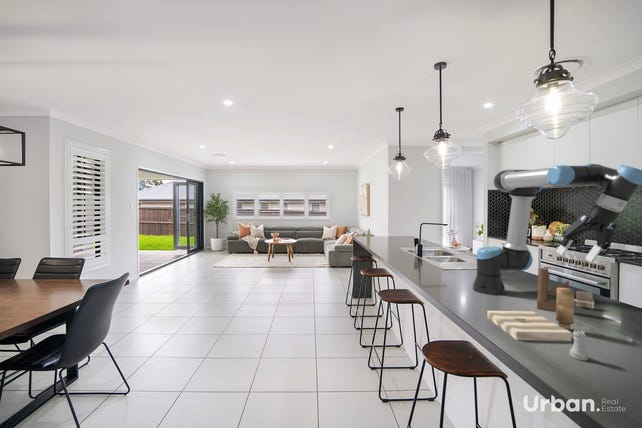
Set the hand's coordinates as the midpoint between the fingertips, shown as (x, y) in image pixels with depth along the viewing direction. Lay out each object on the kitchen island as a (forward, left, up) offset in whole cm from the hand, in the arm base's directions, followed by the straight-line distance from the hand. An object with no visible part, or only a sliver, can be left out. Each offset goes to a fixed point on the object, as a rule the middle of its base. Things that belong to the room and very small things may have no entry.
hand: (574, 257), depth 117 cm
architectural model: (-18, +19, -27) cm, 38 cm away
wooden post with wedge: (-14, +2, -26) cm, 30 cm away
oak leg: (+7, -8, -26) cm, 28 cm away
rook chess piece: (+28, -19, -26) cm, 42 cm away
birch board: (+7, -22, -26) cm, 34 cm away
